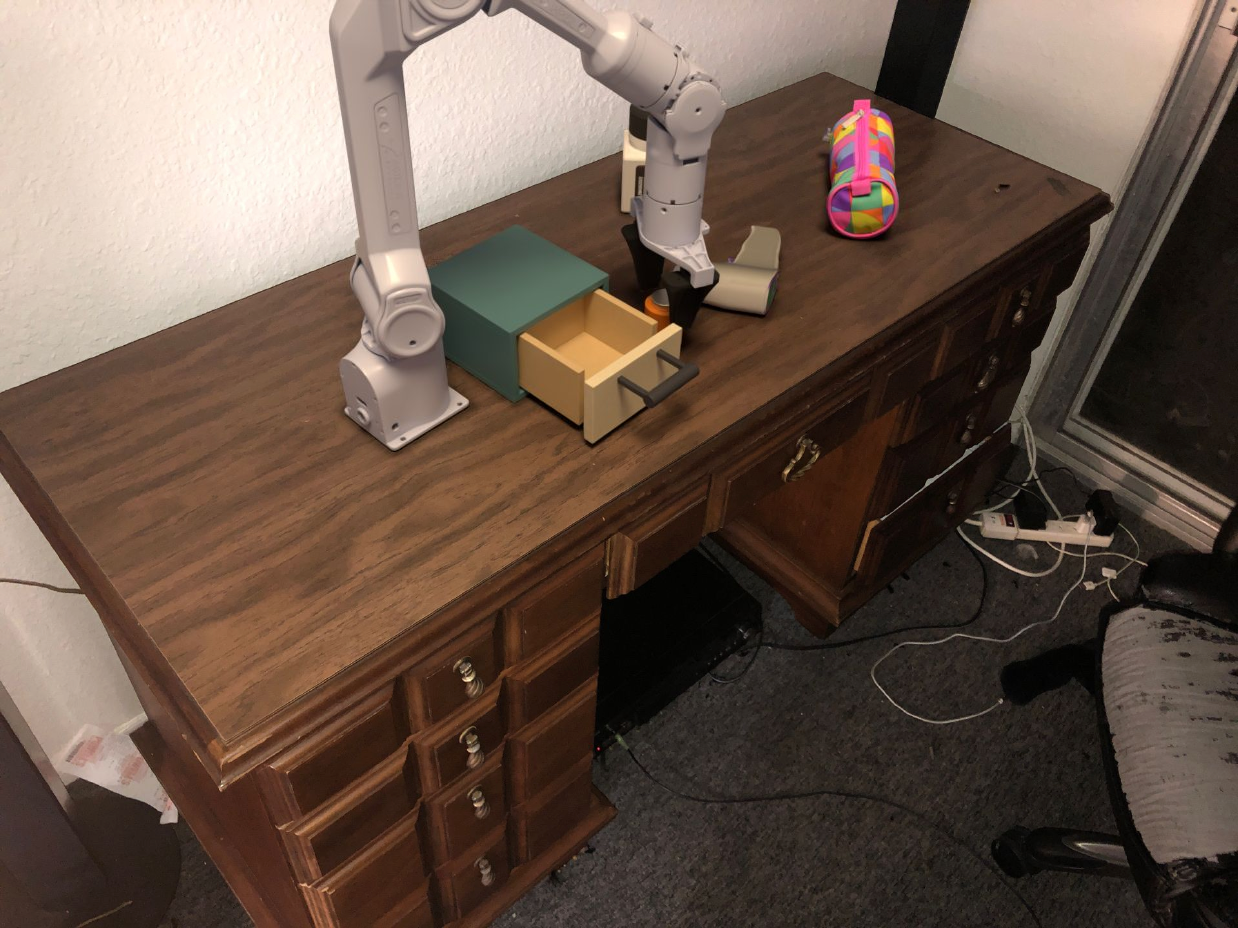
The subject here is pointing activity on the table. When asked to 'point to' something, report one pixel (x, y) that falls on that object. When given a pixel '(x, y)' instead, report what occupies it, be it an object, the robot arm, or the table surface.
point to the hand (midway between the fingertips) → (664, 307)
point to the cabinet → (505, 300)
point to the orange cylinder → (658, 309)
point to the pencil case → (862, 173)
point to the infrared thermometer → (748, 274)
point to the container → (634, 156)
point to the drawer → (601, 362)
